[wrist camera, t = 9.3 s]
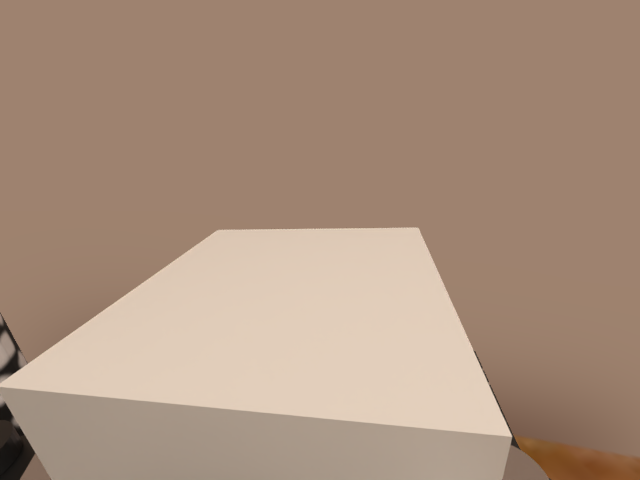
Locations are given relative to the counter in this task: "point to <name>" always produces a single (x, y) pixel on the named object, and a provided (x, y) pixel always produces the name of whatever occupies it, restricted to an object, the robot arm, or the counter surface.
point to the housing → (270, 370)
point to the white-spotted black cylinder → (9, 368)
